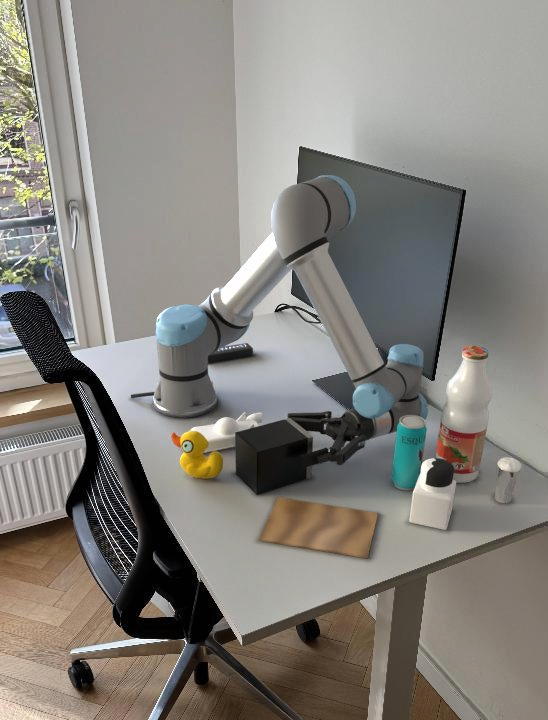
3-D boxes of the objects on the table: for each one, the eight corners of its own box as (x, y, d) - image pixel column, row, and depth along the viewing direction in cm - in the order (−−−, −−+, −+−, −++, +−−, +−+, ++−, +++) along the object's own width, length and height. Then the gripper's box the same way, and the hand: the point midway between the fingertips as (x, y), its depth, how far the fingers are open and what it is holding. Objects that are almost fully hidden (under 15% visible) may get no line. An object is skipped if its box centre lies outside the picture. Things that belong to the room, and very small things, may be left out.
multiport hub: (253, 355, 211) (253, 348, 210) (204, 364, 205) (204, 356, 204) (247, 350, 214) (247, 342, 213) (199, 358, 209) (198, 350, 208)
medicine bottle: (451, 510, 148) (460, 458, 142) (446, 531, 142) (454, 477, 136) (415, 503, 150) (422, 451, 144) (408, 523, 144) (415, 469, 138)
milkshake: (514, 509, 149) (523, 466, 144) (487, 500, 151) (495, 458, 146) (521, 498, 152) (530, 456, 147) (495, 490, 155) (503, 448, 150)
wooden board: (259, 540, 138) (259, 538, 138) (277, 499, 150) (277, 497, 150) (367, 558, 134) (367, 556, 134) (377, 514, 146) (378, 512, 146)
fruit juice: (487, 480, 158) (510, 356, 144) (447, 487, 155) (467, 362, 141) (464, 457, 166) (483, 338, 151) (425, 464, 163) (442, 343, 149)
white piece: (176, 437, 170) (174, 414, 167) (259, 424, 177) (259, 401, 174) (187, 460, 162) (186, 436, 159) (275, 445, 168) (275, 422, 165)
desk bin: (288, 458, 164) (289, 417, 159) (311, 477, 157) (313, 436, 152) (235, 474, 158) (235, 432, 153) (256, 495, 151) (256, 452, 146)
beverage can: (418, 494, 153) (426, 429, 145) (389, 490, 154) (397, 425, 146) (419, 479, 158) (428, 415, 150) (392, 475, 158) (399, 412, 151)
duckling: (167, 475, 156) (164, 433, 151) (179, 463, 161) (177, 422, 156) (216, 487, 153) (215, 445, 148) (228, 474, 157) (227, 433, 152)
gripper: (399, 463, 158) (315, 491, 148) (331, 414, 176) (252, 437, 166) (403, 432, 154) (316, 459, 144) (333, 385, 172) (252, 406, 162)
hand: (282, 447), depth 155 cm, fingers open, 13 cm apart
